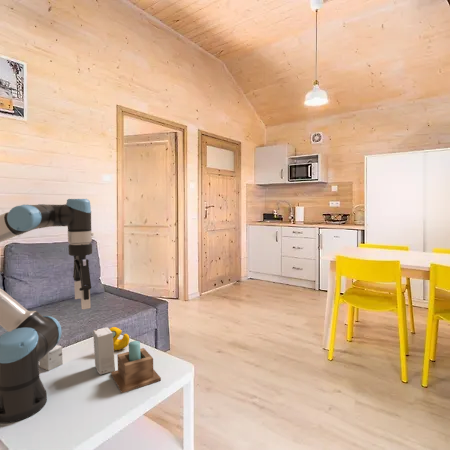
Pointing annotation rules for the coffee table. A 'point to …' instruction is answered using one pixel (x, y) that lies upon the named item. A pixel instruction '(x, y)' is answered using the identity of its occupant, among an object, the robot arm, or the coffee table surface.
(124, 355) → the socket
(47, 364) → the skincare box
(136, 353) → the peg
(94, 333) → the skincare box
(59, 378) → the coffee table surface
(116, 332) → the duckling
